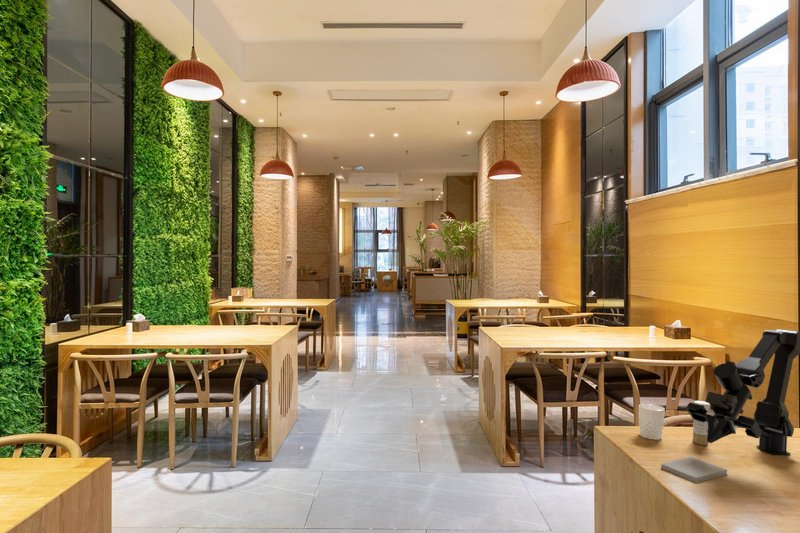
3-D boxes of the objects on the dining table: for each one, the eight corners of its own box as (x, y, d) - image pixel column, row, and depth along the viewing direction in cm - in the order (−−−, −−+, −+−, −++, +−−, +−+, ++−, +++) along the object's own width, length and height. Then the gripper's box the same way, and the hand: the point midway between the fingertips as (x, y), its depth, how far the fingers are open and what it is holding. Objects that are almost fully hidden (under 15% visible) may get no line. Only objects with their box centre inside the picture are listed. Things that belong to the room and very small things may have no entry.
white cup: (657, 433, 172) (659, 404, 172) (667, 441, 164) (669, 411, 164) (633, 431, 173) (635, 403, 173) (642, 439, 165) (644, 409, 165)
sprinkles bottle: (697, 439, 167) (699, 399, 167) (711, 444, 163) (713, 403, 163) (689, 441, 165) (690, 400, 165) (702, 446, 161) (704, 404, 161)
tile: (691, 456, 147) (661, 463, 141) (726, 469, 139) (696, 477, 132) (691, 465, 147) (660, 472, 141) (726, 478, 139) (696, 487, 132)
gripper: (691, 375, 154) (666, 414, 149) (757, 390, 137) (732, 434, 132) (705, 399, 157) (681, 438, 152) (771, 416, 141) (748, 460, 136)
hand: (708, 441), depth 143 cm, fingers closed
